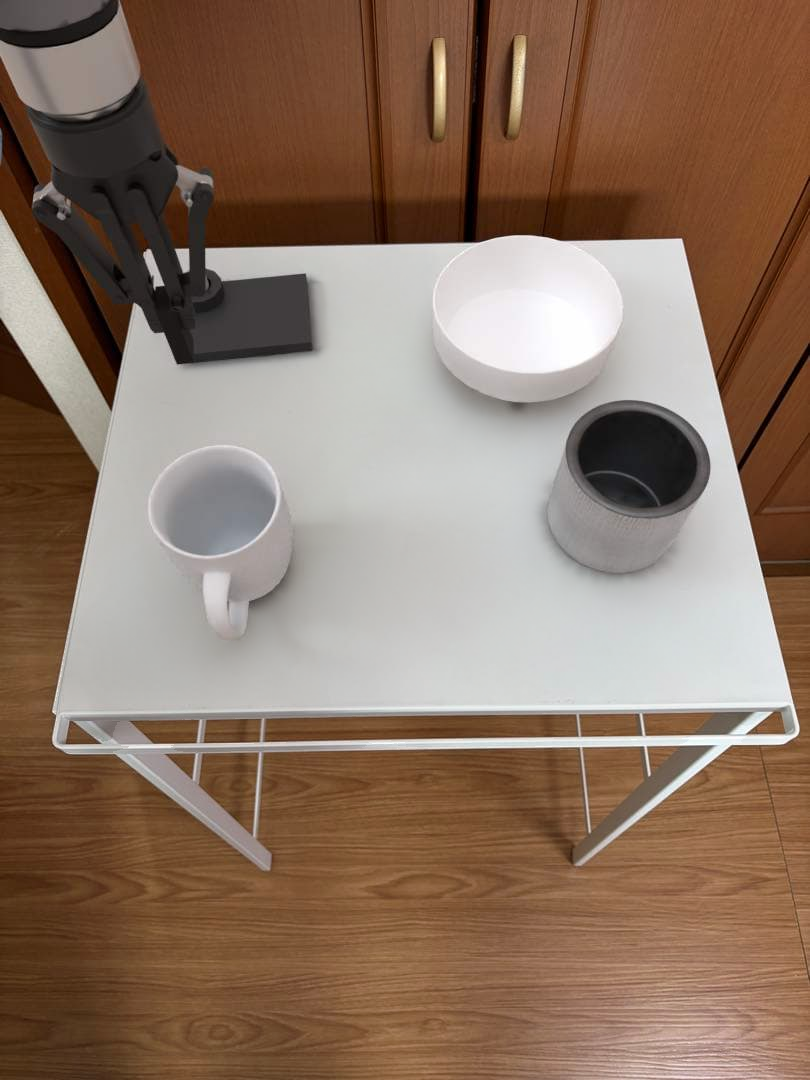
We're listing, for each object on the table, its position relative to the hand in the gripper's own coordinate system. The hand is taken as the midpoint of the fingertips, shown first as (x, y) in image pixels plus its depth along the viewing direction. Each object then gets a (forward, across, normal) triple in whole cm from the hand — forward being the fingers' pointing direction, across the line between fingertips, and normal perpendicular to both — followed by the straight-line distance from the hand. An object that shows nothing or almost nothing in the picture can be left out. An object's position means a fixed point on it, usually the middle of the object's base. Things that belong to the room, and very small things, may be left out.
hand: (185, 352), depth 67 cm
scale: (+14, -4, -17) cm, 22 cm away
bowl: (+14, -34, -7) cm, 37 cm away
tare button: (+11, +2, -21) cm, 24 cm away
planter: (+14, -38, +15) cm, 43 cm away
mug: (+14, -2, +16) cm, 22 cm away
